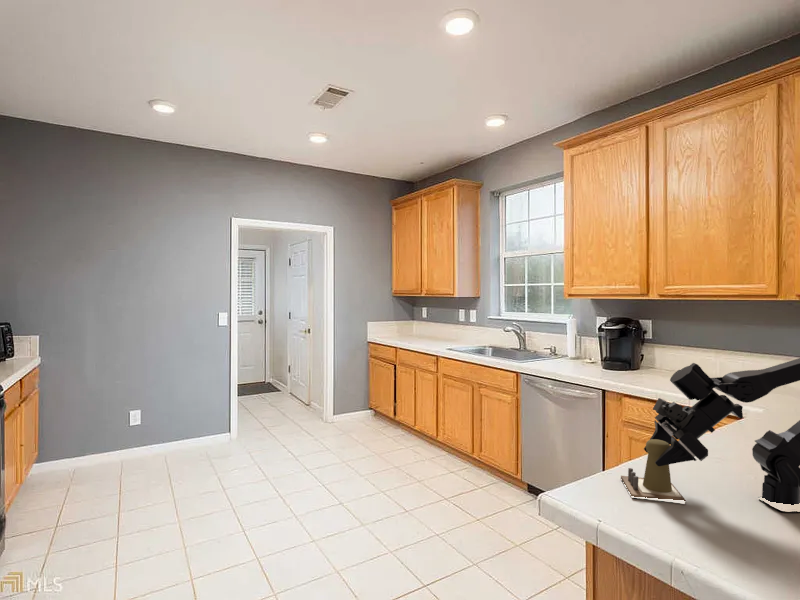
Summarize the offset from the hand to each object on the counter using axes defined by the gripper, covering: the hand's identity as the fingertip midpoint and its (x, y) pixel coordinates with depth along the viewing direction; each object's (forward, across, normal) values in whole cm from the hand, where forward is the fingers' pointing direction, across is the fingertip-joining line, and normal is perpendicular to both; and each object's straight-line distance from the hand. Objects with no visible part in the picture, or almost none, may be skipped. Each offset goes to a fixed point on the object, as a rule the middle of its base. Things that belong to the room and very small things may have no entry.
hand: (650, 457), depth 108 cm
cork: (+4, 0, +6) cm, 7 cm away
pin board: (+6, 0, +6) cm, 8 cm away
